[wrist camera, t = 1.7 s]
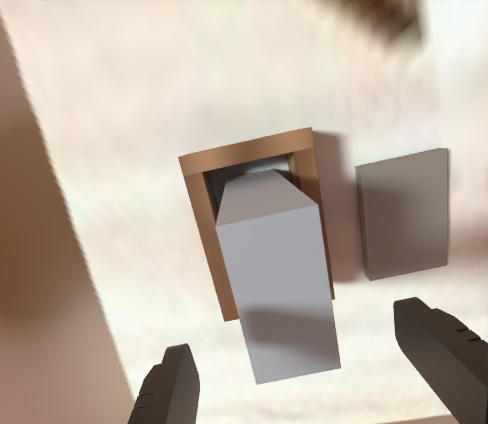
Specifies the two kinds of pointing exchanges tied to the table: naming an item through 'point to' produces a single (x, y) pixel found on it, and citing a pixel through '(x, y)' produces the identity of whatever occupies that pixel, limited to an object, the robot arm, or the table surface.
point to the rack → (205, 205)
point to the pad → (403, 213)
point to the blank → (278, 276)
